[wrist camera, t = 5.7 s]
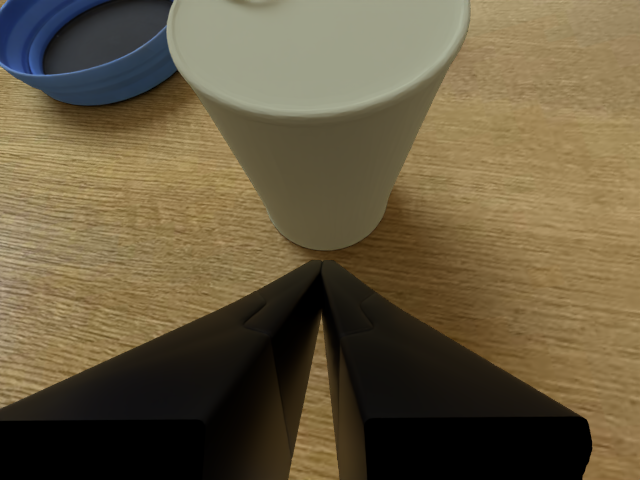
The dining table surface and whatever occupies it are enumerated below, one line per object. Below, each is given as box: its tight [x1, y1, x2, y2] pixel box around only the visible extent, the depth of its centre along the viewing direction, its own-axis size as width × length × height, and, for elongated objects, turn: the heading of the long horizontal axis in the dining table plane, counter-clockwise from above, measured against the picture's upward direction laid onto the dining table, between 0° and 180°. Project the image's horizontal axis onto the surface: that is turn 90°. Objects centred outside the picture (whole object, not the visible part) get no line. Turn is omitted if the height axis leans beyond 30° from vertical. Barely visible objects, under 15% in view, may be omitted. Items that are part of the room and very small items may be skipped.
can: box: [166, 0, 471, 250], centre depth 12 cm, size 9×9×12 cm
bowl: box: [0, 0, 178, 106], centre depth 23 cm, size 18×18×4 cm
